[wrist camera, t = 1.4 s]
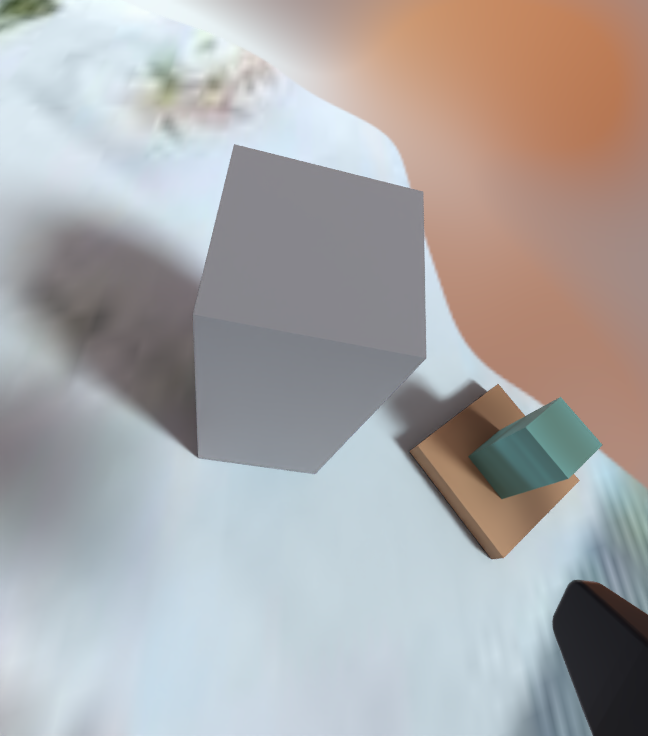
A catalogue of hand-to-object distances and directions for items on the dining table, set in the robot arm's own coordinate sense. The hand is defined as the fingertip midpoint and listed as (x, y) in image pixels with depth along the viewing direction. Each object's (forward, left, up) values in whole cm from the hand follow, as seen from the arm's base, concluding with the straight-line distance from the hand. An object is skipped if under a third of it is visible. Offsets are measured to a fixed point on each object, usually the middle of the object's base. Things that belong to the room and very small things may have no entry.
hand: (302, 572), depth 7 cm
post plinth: (+13, +1, -13) cm, 18 cm away
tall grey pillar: (+3, +7, -13) cm, 15 cm away
